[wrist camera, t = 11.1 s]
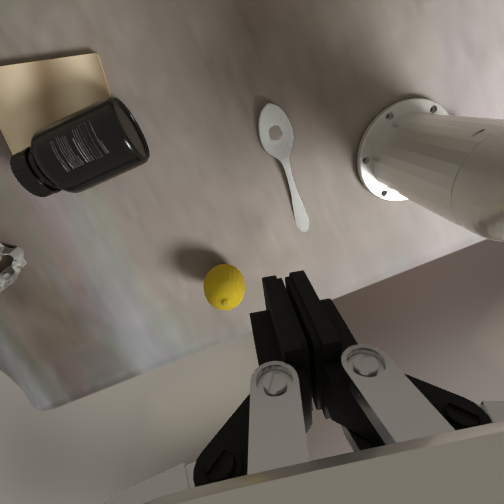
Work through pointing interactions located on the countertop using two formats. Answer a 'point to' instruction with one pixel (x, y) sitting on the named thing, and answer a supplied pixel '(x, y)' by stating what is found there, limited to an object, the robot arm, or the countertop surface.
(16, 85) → the cutting board
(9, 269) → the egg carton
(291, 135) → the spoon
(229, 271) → the lemon
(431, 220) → the countertop surface
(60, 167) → the supplement bottle
